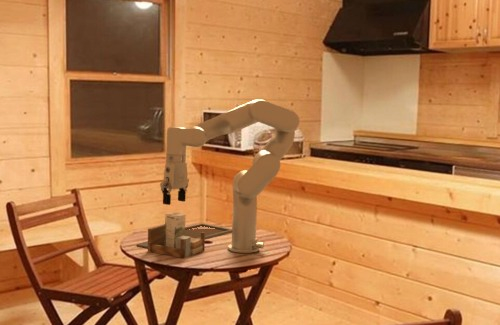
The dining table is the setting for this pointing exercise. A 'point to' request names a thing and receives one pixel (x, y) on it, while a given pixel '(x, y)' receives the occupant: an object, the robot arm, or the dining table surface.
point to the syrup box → (174, 228)
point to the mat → (143, 244)
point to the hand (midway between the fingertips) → (174, 202)
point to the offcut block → (187, 244)
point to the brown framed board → (206, 231)
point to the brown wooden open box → (157, 243)
